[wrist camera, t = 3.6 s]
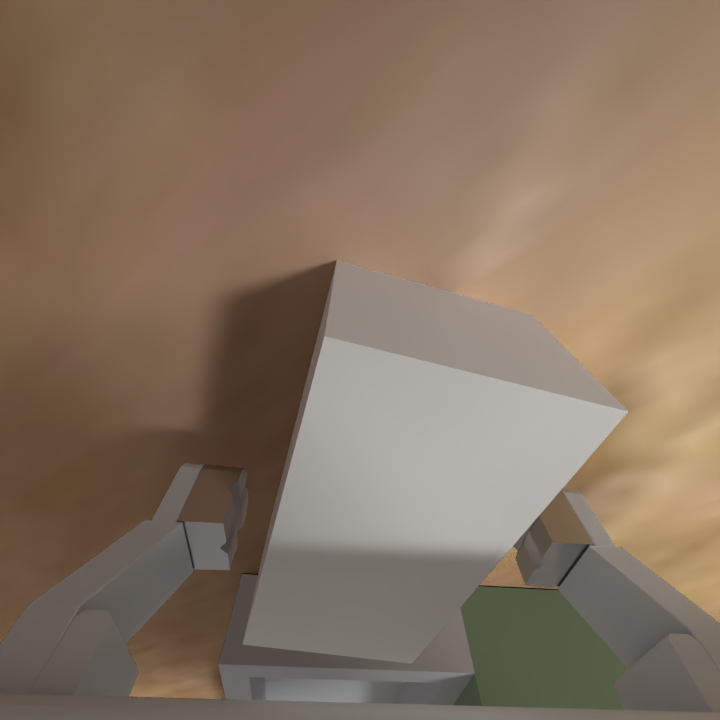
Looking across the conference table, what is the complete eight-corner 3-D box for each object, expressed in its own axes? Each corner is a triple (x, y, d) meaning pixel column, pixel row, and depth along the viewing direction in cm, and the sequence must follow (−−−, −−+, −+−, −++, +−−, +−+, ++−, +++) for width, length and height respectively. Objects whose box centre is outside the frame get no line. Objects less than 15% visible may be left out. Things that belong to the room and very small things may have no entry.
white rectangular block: (337, 256, 8) (324, 336, 5) (527, 310, 9) (628, 411, 6) (271, 516, 13) (242, 644, 10) (398, 537, 14) (411, 663, 11)
